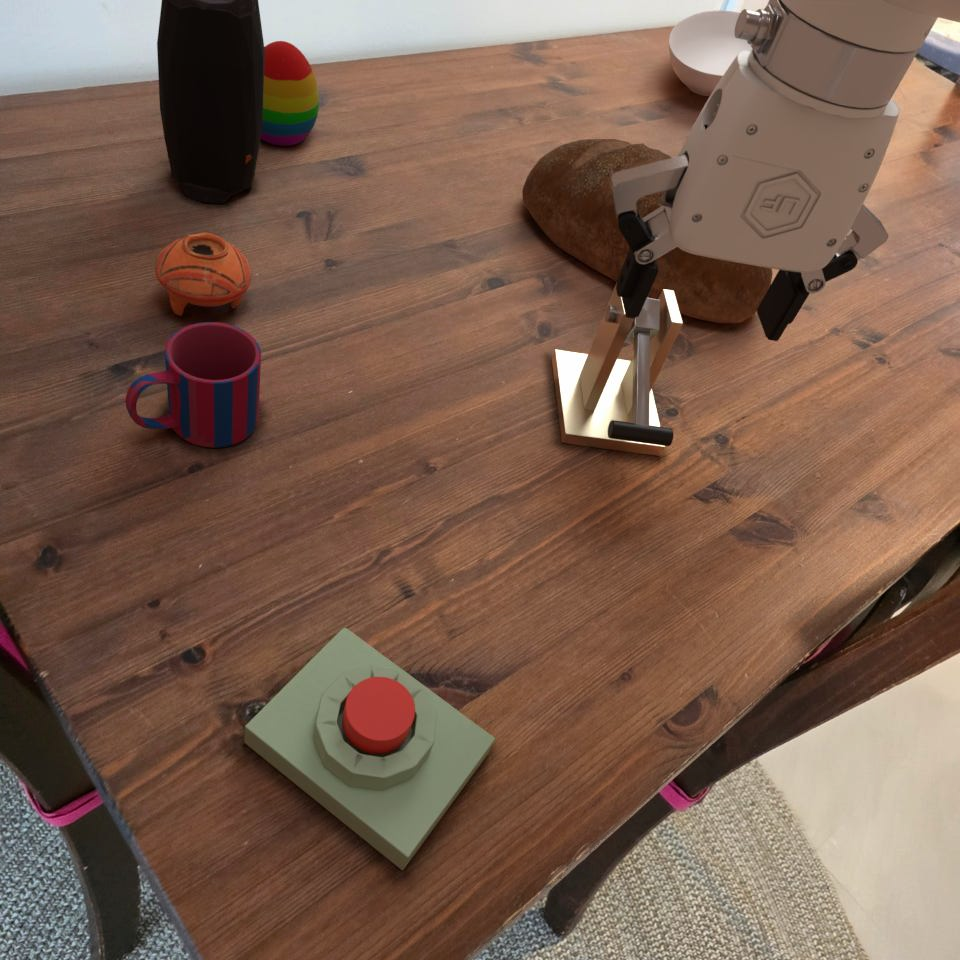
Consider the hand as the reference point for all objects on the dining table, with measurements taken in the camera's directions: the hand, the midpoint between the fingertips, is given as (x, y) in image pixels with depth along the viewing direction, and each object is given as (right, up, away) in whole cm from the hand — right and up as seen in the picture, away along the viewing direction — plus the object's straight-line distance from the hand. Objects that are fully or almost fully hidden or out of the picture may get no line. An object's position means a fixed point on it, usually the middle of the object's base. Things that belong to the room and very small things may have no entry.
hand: (698, 315), depth 58 cm
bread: (+3, +14, +40) cm, 43 cm away
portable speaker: (-41, +19, +32) cm, 56 cm away
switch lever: (-1, -2, +15) cm, 15 cm away
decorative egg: (-37, +28, +42) cm, 62 cm away
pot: (-39, +5, +20) cm, 44 cm away
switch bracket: (-3, -4, +23) cm, 23 cm away
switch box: (-21, -27, -3) cm, 34 cm away
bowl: (+21, +50, +78) cm, 96 cm away
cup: (-36, -6, +11) cm, 39 cm away
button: (-20, -25, -6) cm, 33 cm away
